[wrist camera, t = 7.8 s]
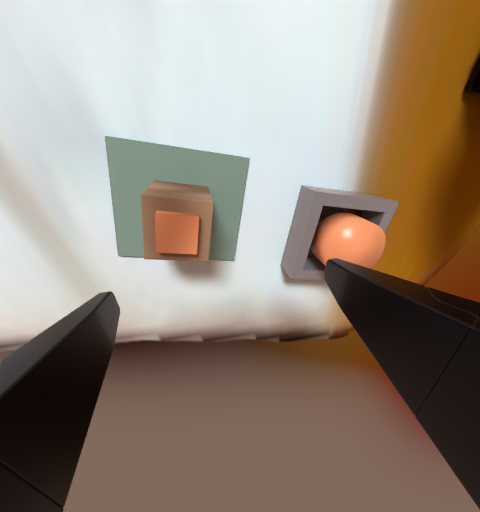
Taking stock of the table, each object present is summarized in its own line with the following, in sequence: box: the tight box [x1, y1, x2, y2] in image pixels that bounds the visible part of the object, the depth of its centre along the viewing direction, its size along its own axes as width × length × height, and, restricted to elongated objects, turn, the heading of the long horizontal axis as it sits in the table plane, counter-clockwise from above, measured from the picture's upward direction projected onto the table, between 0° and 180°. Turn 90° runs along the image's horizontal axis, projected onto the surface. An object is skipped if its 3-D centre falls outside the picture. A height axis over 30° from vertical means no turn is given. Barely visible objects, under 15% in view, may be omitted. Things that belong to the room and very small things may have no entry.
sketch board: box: [105, 136, 249, 260], centre depth 18 cm, size 10×9×1 cm
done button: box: [311, 211, 386, 269], centre depth 19 cm, size 5×5×3 cm
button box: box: [281, 185, 399, 280], centre depth 21 cm, size 8×8×2 cm
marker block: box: [141, 180, 214, 261], centre depth 15 cm, size 4×4×6 cm
